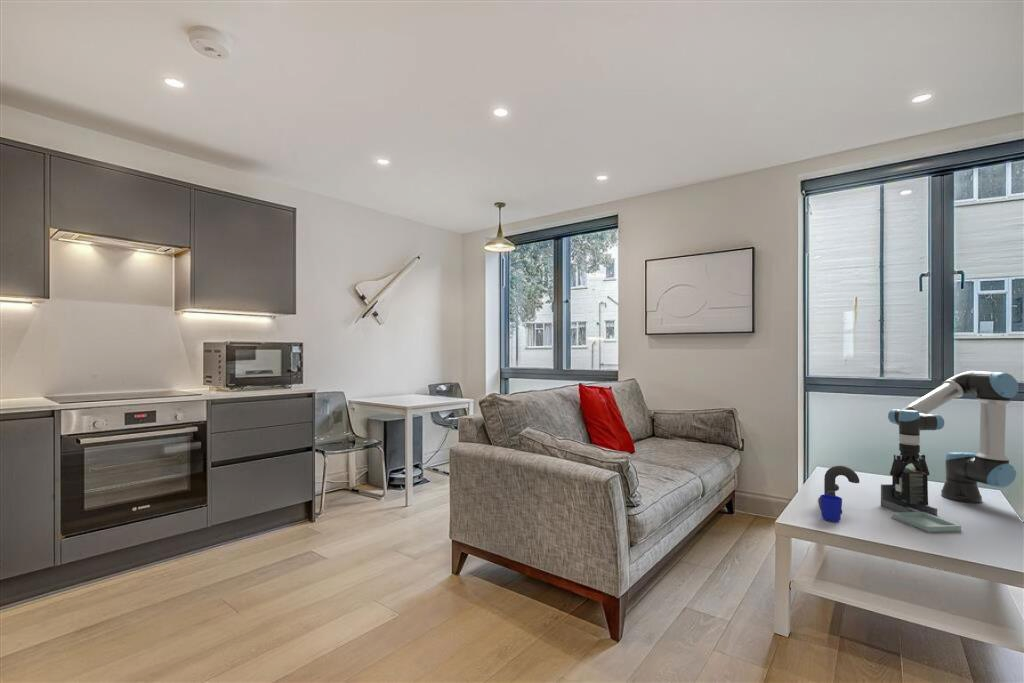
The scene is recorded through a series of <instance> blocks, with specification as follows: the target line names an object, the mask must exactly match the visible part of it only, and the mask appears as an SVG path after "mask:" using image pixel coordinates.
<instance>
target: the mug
mask: <svg viewBox="0 0 1024 683" xmlns="http://www.w3.org/2000/svg"><path fill="white" fill-rule="evenodd" d="M819 497H820V501H821V509H820V512H821V518H822V519H823V520H825V521H828V522H832V523H838V522H840V521H841V518H842V513H841V509H842V507H843V498H842V497H840V496H839V495H836V496H834V495H827V494H821V495H819Z"/></svg>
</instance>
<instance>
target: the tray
mask: <svg viewBox="0 0 1024 683" xmlns="http://www.w3.org/2000/svg"><path fill="white" fill-rule="evenodd" d="M891 518H892V519H893V520H896V521H899V522H901V523H903V524H905V525H908V526H911V527H913V528H915V529H918V530H920V531H922V532H925V533H929V534H930V533H934V534H935V533H957V532H958V533H961V532H962V525H959V524H957V523H954V522H953V521H949V520H947V519H944V518H941V517H938V516H937V515H933V514H930V513H927V512H925V511H911V512H897V511H895V512H891Z"/></svg>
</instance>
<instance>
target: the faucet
mask: <svg viewBox="0 0 1024 683" xmlns="http://www.w3.org/2000/svg"><path fill="white" fill-rule="evenodd" d="M839 476H843V477H845V478H847V480H848V482H849V483H853V484H860V478H859V476H858V474H857V473H856V472H855V471H854V470H853V469H852V468H850V467H849V466H848V467H847V466H844V465H835V466H832V467H830V468H828V470H826V471H825V474H824V479H823V480H824V481H823V483H824V484H823V485H824V486H823V488H824V489H823V490H824V494H827V495H834V496H837V495H836V491H839V490H840V486H839V485H838V484H837V483H836V478H837V477H839ZM824 494H823V495H824ZM818 504H819V508H820V510H821V501H820V496H819V497H818ZM841 514H843V510H842V509H841Z"/></svg>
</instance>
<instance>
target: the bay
mask: <svg viewBox="0 0 1024 683" xmlns="http://www.w3.org/2000/svg"><path fill="white" fill-rule="evenodd" d="M880 506H882V507H884V508H887V509H890V510H892V511H895V512H912V509H910V508H908V507H912V508H914V509H917V510H920V511H921V512H925V513H928V514H931V515H933V516H938V508H935V507H933V506H930V505H929V504H928V505H912V504H905V503H903V502H901V501H899V500H897V499H895V498H893V497H892V483H887V484H886V483H885V484H883V483H882V484H880ZM906 506H908V507H906Z"/></svg>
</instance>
